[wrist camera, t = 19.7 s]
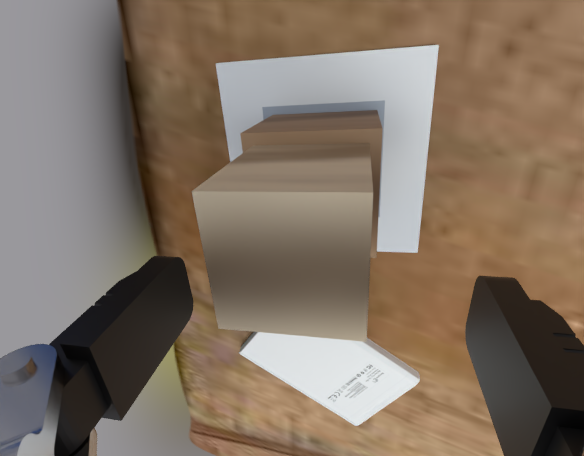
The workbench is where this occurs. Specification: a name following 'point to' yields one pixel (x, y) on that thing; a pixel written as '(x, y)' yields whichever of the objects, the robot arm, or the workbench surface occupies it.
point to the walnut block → (325, 140)
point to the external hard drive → (334, 371)
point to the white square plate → (349, 97)
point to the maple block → (290, 240)
